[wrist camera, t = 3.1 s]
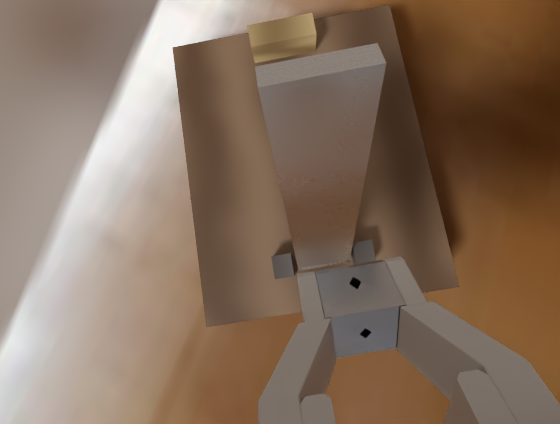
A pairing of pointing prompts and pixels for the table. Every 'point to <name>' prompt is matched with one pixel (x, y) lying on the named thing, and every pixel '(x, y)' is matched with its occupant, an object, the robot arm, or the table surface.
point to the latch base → (263, 176)
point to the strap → (322, 144)
